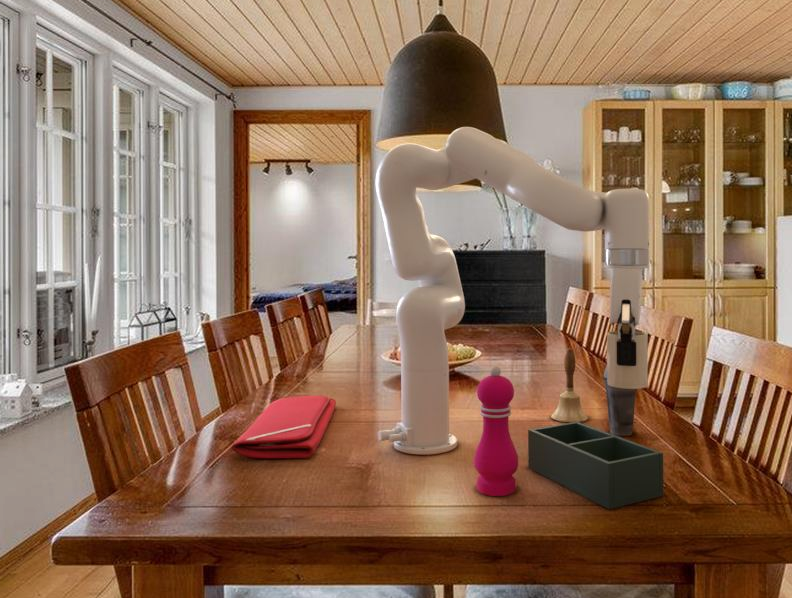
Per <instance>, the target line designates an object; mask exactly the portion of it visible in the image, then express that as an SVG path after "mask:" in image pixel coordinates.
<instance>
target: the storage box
mask: <svg viewBox="0 0 792 598" xmlns="http://www.w3.org/2000/svg"><path fill="white" fill-rule="evenodd" d="M527 447H528V448H527V449H528V450H527V451H528V452H527V454H528V455H527V457H528V459H527V461H528V465H527V466H528V468H527V469H530V470H531V471H533V472H536V473H538V474H540V475H542V476H544V477H546V478H547V479H549V480H551V481H553V482H555V483H557V484H559V485H561V486H563V487H565V488H567V489H569V490H570V491H573V492H575V493H577V494H579V495H580V496H583V497H584V498H586V499H588V500H590V501H592V502H594V503H596V504H597V505H600V506H602V507H604V508H606V509H607V510H612V509H617V508H620V507H624V506H629V505H633V504H636V503H640V502H645V501H649V500H653V499H656V498H661V497H664V495H665V493H664V492H665V491H664V452H662V451H659V450H657V449H654V448H651V447H649V446H645V445H643V444H640V443H637V442H635V441H631V440H629V439H626V438H623V437H622V436H618V435H613V434H611V433H610V432H608V431H604V430H601V429H598V428H596V427H594V426H590V425H588V424H586V423H583V422H572V423H570V422H565V423H561V424H554V425H549V426H548V425H547V426H541V427H536V428H531V429H528V430H527Z"/></svg>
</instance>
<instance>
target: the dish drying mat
mask: <svg viewBox="0 0 792 598" xmlns="http://www.w3.org/2000/svg"><path fill="white" fill-rule="evenodd" d="M336 404H337V401H336V399H334V398H331V397H329V396H326V395H317V394H316V395H295V396H288V397H287V396H286V397H282V398H279V399H276V400H274V401H272V402H271V403H270V404H269V405H268V406H267V407H266V408H265V409H264V410H263V411H262V412H261V414H259V416H258V417H257V418H256V419H255V420H254V421H253V423H252V424H251V425H250V426H249V427H248V428H247V429H246V431H245V432H244V433H243V434H242V435H241V436H240V437H239V438H237V440H236V441H235V442H234V443H233V444H232V445H231V449H232V450H233V452H235V453H237V454H239V455H241V456H243V457H246V458H247V457H248V458H254V459H308V458H311V457H312V456H313V455H314V453H315V452H316V449H317V448H318V446H319V444H320V443H321V441H322V439H323V436H324V435H325V433H326V429H327V428H328V426H329V423H330V421H331V419H332V416H333V415H334V412H335V408H336Z"/></svg>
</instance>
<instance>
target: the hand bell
mask: <svg viewBox="0 0 792 598" xmlns="http://www.w3.org/2000/svg"><path fill="white" fill-rule="evenodd" d="M564 355H565V356H564V359H563V366H564V371H565V377H566V379H565V384H566V385H565V391H563V392H561V393H560V395H559V399H558V405H557V407H556V409H555V411H554V412H553V413H552V414H551V416H550V417H551V419H553V420H554V421H556V422H561V423H572V422H580V423H584V422H586V421H588V419H589V417H588V415H587V414H586V413H585V412H584V409H583V408H582V405H581V399H580V398H581V397H580V395H579V394H578V393H576V392H575V391H574V375H575V372H576V371H575V370H576V363H577V362H576V361H577V360H576V356H575V353H574V349H573V348H567V349H566V352H565V354H564Z"/></svg>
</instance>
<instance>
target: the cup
mask: <svg viewBox="0 0 792 598" xmlns="http://www.w3.org/2000/svg"><path fill="white" fill-rule="evenodd" d="M648 339H649V338H648V333H647V332H645V331H644V332H643V331H637V330H636V331H635V342H636V366H621V365H617V341H618V330H611V331H607V333H606V367H607V384H608V385H610V386H612V387H617V388H624V389H636V390H638V389H639V390H641V389H645V388H647V387H648V385H649V379H648V378H649V377H648V376H649V375H648V373H649V371H648V370H649V366H648V364H649V362H648V361H649V359H648V358H649V357H648V356H649V355H648V354H649V353H648V352H649V351H648V350H649V349H648V347H649V346H648Z"/></svg>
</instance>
